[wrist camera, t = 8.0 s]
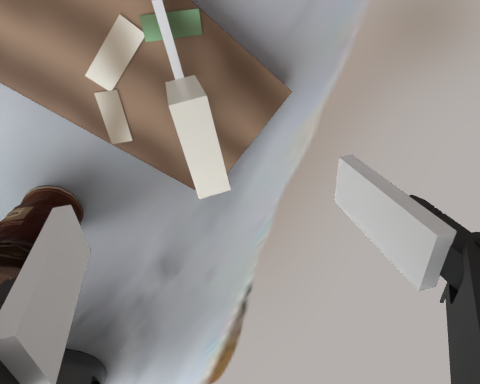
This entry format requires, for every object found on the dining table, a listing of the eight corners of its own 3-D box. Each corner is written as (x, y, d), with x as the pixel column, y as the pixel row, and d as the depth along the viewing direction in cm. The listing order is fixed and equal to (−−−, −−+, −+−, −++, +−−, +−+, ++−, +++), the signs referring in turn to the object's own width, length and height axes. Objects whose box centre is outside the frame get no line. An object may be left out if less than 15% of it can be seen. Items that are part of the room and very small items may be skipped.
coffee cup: (92, 177, 34) (63, 255, 24) (99, 236, 38) (77, 326, 28) (1, 176, 32) (-78, 262, 21) (18, 239, 36) (-41, 339, 25)
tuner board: (205, 186, 38) (208, 198, 36) (-74, 28, 25) (-97, 30, 23) (283, 86, 34) (292, 92, 32) (0, -167, 21) (-19, -189, 19)
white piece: (186, 141, 32) (199, 199, 22) (142, 3, 25) (133, -1, 16) (208, 135, 32) (230, 189, 22) (170, -4, 25) (179, -11, 16)
